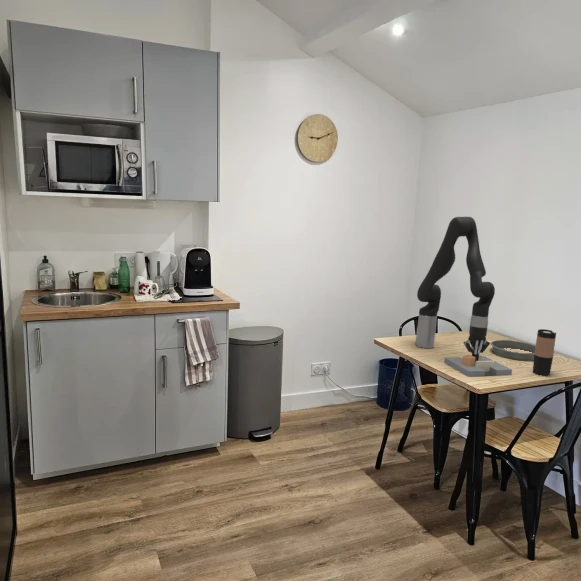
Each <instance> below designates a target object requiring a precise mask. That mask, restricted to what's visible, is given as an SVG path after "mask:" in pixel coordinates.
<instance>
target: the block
mask: <svg viewBox="0 0 581 581" xmlns="http://www.w3.org/2000/svg"><path fill="white" fill-rule="evenodd" d="M464 355H465V356H464ZM464 355H462V365H465V366H468V367H471V366H474V365H475V358H476V357H474V356H470V355H471V354H464Z"/></svg>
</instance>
